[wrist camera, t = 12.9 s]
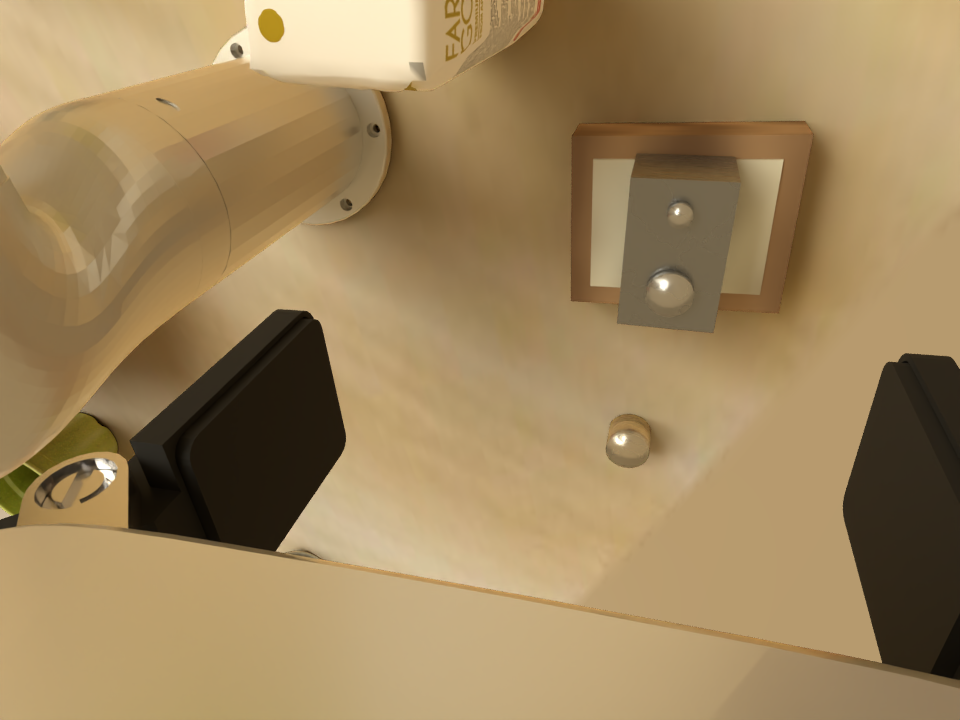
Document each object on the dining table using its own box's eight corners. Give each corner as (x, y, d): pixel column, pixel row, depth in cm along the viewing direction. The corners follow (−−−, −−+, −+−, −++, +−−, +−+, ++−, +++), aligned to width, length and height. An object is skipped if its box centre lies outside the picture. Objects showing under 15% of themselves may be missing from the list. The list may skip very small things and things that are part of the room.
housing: (636, 153, 35) (629, 181, 31) (735, 156, 34) (742, 186, 30) (623, 288, 39) (616, 328, 35) (711, 296, 38) (713, 338, 34)
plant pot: (112, 401, 62) (39, 460, 55) (147, 476, 67) (83, 538, 60) (36, 393, 65) (-43, 448, 58) (75, 465, 70) (6, 524, 63)
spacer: (608, 443, 50) (604, 464, 48) (610, 411, 48) (607, 432, 46) (648, 448, 49) (646, 470, 47) (652, 416, 47) (650, 437, 45)
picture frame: (577, 280, 43) (570, 302, 40) (579, 123, 38) (571, 137, 35) (773, 290, 40) (779, 314, 37) (804, 121, 35) (814, 135, 32)
